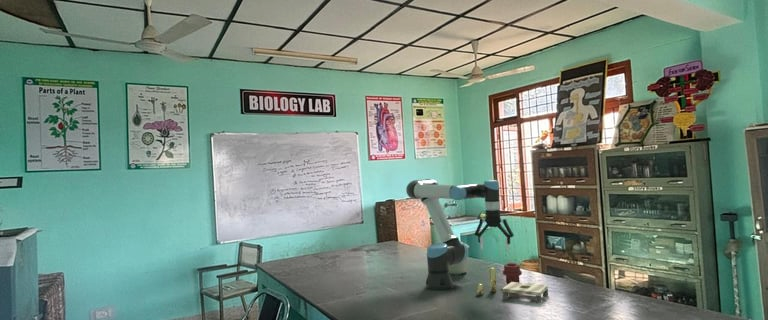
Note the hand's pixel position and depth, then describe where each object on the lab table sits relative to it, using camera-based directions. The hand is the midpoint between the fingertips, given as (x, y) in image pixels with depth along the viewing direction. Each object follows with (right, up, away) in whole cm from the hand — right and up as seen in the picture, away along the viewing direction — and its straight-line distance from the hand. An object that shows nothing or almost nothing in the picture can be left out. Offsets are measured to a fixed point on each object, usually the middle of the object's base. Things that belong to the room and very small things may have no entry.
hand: (494, 249), depth 225 cm
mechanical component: (+12, -21, +6) cm, 25 cm away
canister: (-13, -24, +44) cm, 52 cm away
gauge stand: (+12, -20, -15) cm, 28 cm away
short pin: (-9, -22, -5) cm, 24 cm away
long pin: (-1, -22, -1) cm, 22 cm away
